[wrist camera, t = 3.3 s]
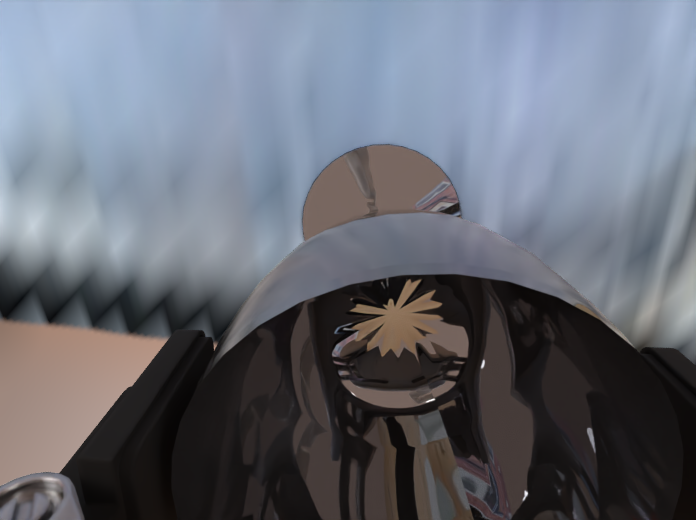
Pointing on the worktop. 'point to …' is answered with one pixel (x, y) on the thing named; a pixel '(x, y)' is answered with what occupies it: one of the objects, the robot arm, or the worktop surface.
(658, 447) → the wine glass
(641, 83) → the worktop surface
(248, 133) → the worktop surface
